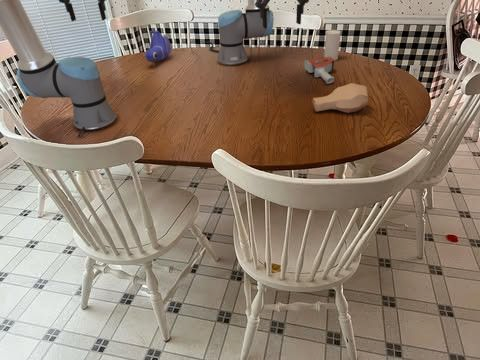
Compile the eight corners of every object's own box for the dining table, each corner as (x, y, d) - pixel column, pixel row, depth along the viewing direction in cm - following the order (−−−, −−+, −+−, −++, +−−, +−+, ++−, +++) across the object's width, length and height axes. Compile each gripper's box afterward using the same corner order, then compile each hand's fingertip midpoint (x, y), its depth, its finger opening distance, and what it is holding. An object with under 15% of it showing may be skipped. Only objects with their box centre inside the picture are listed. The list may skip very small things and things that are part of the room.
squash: (372, 113, 127) (374, 92, 121) (316, 123, 129) (316, 102, 123) (363, 96, 135) (365, 75, 129) (310, 106, 137) (310, 86, 130)
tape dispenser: (330, 89, 151) (346, 71, 163) (331, 77, 147) (348, 59, 160) (292, 80, 158) (310, 64, 171) (293, 69, 155) (311, 53, 167)
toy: (159, 62, 200) (139, 68, 178) (155, 30, 193) (133, 32, 171) (176, 61, 198) (157, 67, 176) (172, 29, 191) (151, 31, 169)
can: (340, 58, 177) (343, 32, 170) (329, 61, 175) (332, 34, 167) (331, 55, 182) (334, 29, 175) (320, 58, 180) (323, 31, 172)
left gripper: (107, -41, 140) (120, 17, 152) (48, -38, 143) (65, 19, 155) (99, -40, 134) (113, 20, 146) (37, -37, 137) (56, 22, 149)
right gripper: (251, -36, 118) (253, 31, 130) (321, -42, 122) (316, 23, 135) (245, -38, 124) (247, 27, 136) (312, -44, 128) (308, 19, 140)
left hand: (89, 20), depth 151 cm, fingers open, 13 cm apart
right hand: (281, 25), depth 135 cm, fingers open, 13 cm apart
